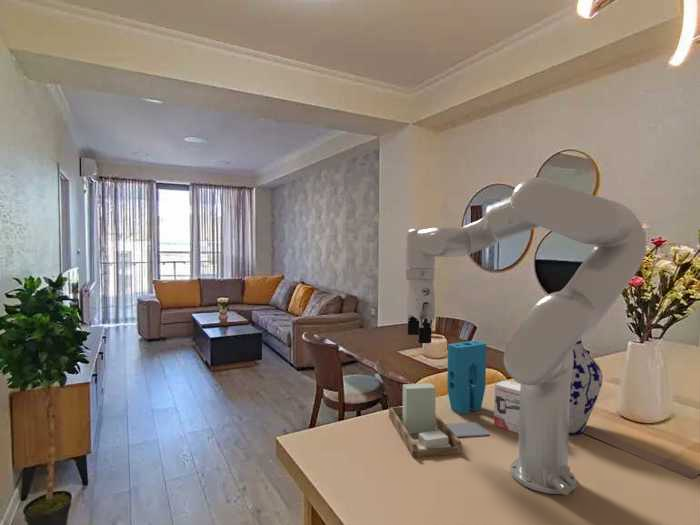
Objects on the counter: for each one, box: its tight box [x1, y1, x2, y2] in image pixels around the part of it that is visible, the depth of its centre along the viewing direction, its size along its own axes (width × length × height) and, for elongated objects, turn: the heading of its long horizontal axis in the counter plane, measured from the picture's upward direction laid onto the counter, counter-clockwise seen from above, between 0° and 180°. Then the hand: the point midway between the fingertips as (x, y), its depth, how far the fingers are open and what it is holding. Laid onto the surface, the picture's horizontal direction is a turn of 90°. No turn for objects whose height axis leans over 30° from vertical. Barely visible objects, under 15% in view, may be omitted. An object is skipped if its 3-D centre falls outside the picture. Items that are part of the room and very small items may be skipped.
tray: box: [388, 406, 462, 458], centre depth 108 cm, size 23×12×3 cm, turn 9°
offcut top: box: [417, 430, 448, 449], centre depth 100 cm, size 4×6×2 cm, turn 107°
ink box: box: [493, 380, 521, 434], centre depth 112 cm, size 8×5×12 cm, turn 43°
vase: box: [569, 338, 604, 436], centre depth 113 cm, size 19×19×30 cm
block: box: [446, 340, 487, 415], centre depth 125 cm, size 12×5×20 cm, turn 119°
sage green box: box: [401, 383, 437, 435], centre depth 110 cm, size 4×8×12 cm, turn 98°
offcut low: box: [413, 438, 451, 449], centre depth 100 cm, size 5×8×2 cm, turn 99°
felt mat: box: [445, 421, 491, 439], centre depth 110 cm, size 8×11×1 cm
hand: (418, 338), depth 110 cm, fingers open, 9 cm apart
